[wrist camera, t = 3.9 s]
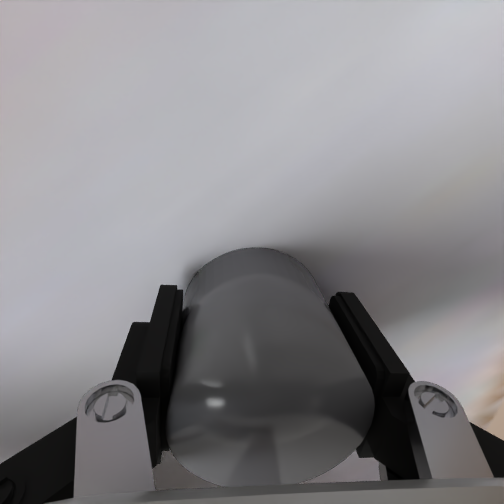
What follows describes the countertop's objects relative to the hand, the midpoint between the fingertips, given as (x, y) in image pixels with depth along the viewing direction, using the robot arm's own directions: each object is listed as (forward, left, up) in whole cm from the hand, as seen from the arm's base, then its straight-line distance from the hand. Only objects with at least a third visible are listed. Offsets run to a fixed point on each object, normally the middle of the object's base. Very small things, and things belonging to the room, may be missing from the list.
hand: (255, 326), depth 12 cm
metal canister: (0, 0, -1) cm, 1 cm away
